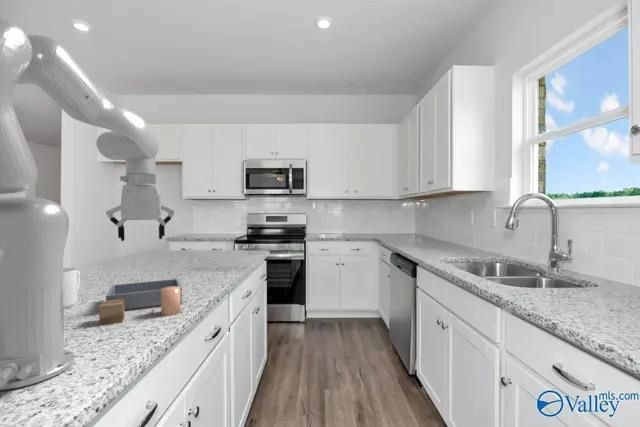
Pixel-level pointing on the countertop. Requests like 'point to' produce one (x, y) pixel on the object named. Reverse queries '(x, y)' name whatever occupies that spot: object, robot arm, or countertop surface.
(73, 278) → the mug
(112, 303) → the walnut cube
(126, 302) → the tote
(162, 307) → the terracotta cylinder
